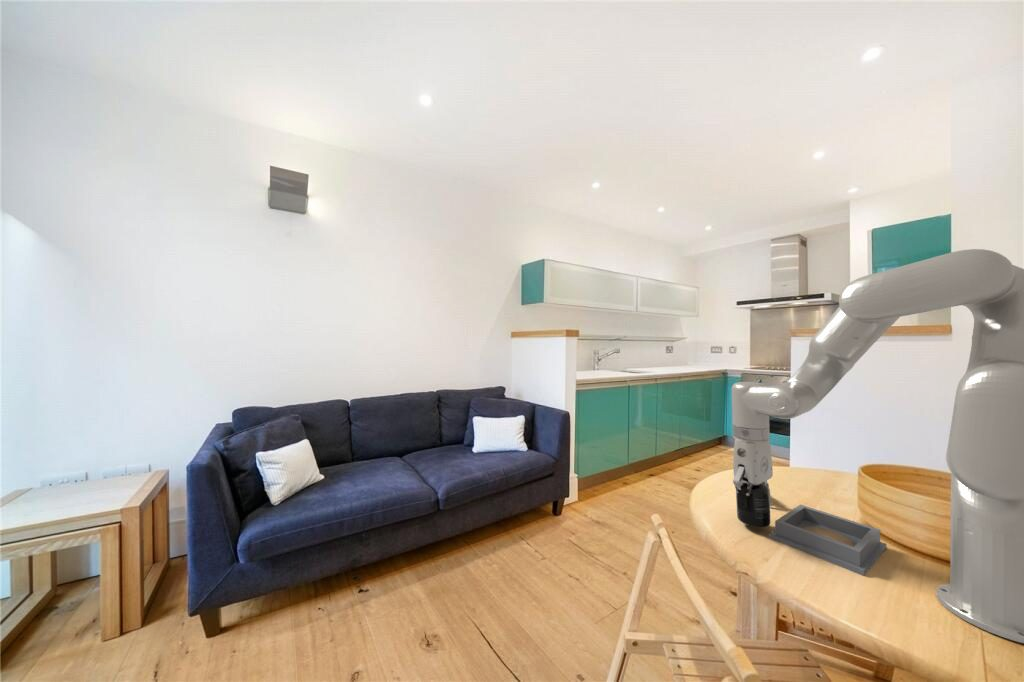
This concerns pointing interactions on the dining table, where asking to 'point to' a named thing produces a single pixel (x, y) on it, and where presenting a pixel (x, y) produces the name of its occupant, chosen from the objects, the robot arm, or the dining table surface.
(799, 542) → the housing
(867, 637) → the dining table surface
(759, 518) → the supplement bottle
